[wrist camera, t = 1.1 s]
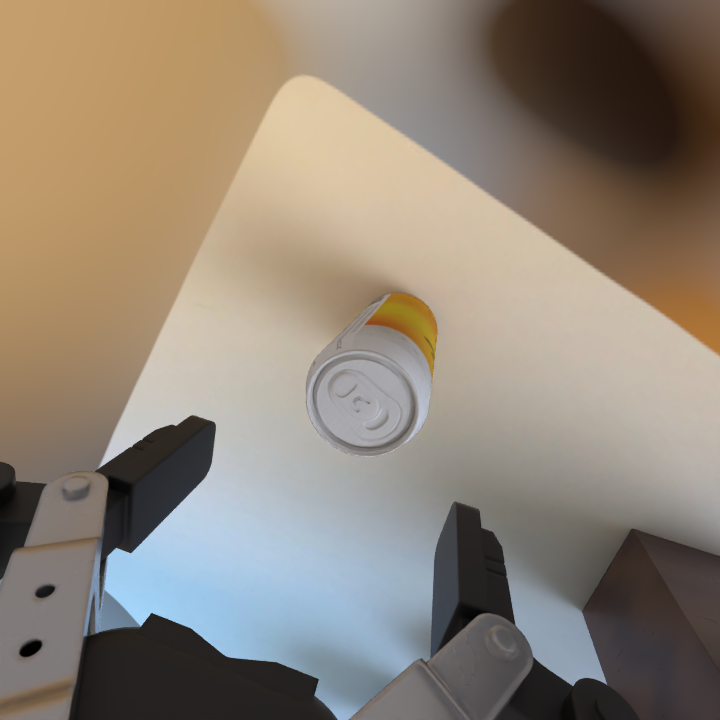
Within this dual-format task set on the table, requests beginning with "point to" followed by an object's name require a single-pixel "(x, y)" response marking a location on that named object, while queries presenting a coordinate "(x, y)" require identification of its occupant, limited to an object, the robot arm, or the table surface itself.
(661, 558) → the walnut stand
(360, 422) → the beer can
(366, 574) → the table surface
